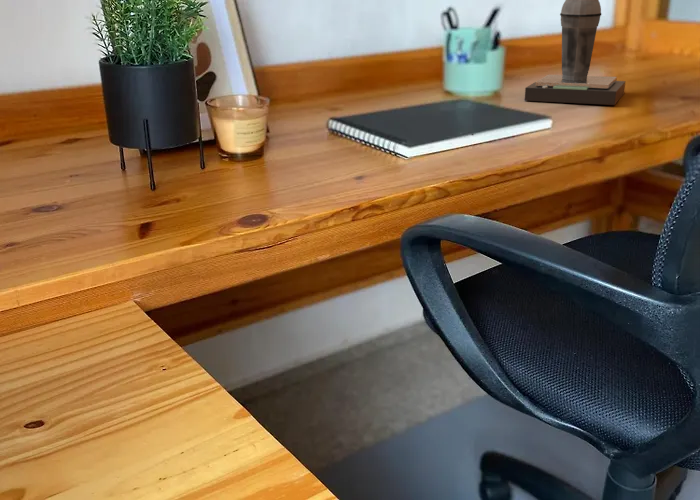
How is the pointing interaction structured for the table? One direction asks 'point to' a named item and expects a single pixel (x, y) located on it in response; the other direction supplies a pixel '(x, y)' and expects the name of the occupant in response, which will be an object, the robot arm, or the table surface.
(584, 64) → the beverage cup
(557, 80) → the pan
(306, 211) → the table surface
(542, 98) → the scale
